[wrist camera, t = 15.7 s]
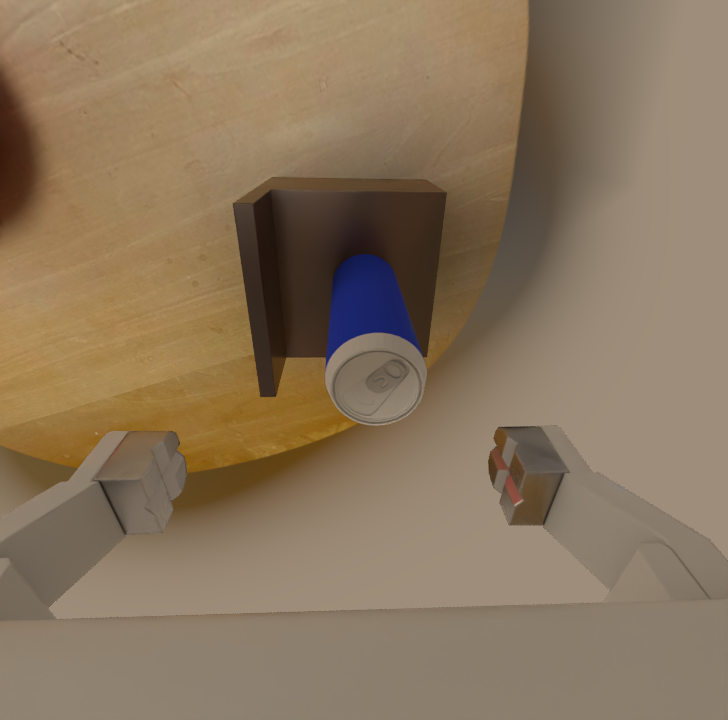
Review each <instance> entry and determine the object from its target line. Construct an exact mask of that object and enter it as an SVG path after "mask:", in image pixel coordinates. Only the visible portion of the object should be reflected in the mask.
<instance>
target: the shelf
mask: <svg viewBox="0 0 728 720" xmlns="http://www.w3.org/2000/svg"><path fill="white" fill-rule="evenodd" d="M446 194H447V193H446V192H445V191H443V190H442V189H440V188H438V187H437V186H435V185H434V184H432V183H431V182H429V181H427V180H396V179H342V178H288V177H272V178H270V179H269V180H267V181H266V182H264V183H263V184H261V185H260V186H258V187H256V188H255V189H254V190H252V191H251V192H249V193H248V194H246V195H245V196H243V197H242V198H240V199H239V200H237V201H236V202H234V203H233V208H234V215H235V222H236V229H237V236H238V243H239V250H240V257H241V264H242V271H243V278H244V285H245V292H246V299H247V306H248V313H249V320H250V327H251V334H252V341H253V348H254V355H255V362H256V369H257V376H258V383H259V390H260V396H261V397H276V395H277V391H278V387H279V383H280V379H281V375H282V371H283V368H284V364H285V360H286V357H327V344H328V332H329V320H330V308H331V296H332V284H333V278H334V275H335V272H336V271H337V269H338V267H339V266H340V265H341V264H342V263H343V262H344V261H345V260H347V259H348V258H351V257H353V256H356V255H360V254H370V255H375V256H377V257H380V258H381V259H383V260H384V261H386V262H387V263H388V264H389V265H390V266H391V268H392V269H393V271H394V273H395V276H396V279H397V282H398V285H399V288H400V291H401V294H402V296H403V299H404V302H405V305H406V308H407V311H408V314H409V317H410V320H411V323H412V326H413V329H414V332H415V334H416V337H417V340H418V343H419V346H420V349H421V352H422V355H423V357H427V352H428V344H429V335H430V327H431V319H432V310H433V302H434V294H435V286H436V277H437V269H438V261H439V252H440V244H441V236H442V228H443V219H444V211H445V203H446Z"/></svg>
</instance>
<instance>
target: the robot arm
mask: <svg viewBox="0 0 728 720" xmlns="http://www.w3.org/2000/svg"><path fill="white" fill-rule="evenodd" d="M494 441H495V443H496V445H497V446H496V447H495V448H494V449H493V450H492V451H491V452H490V456H489V461H488V462H489V463H488V464H489V474H490V479H491V482H492V485H493V487H494V488H495V489H496V490H497V491H498V492H500V493H501V494H502V495H501V499H500V505H501V507H502V510H503V512H504V515H505V517H506V519H507V522H508V524H509V525H544V526H543V527H544V528H545V529H546V530H547V531H548V532H549V533H550V534H551V535H552V536H553V537H554V538H555V539H556V540H557V541H558V542H559V543H560V544H561V545H563V547H565V548H566V549H567V550H568V551H569V552H570V553H571V554H572V555H573V556H574V557H575V558H576V559H577V560H578V561H579V562H580V563H582V565H584V566H585V567H586V568H587V569H588V570H589V571H590V572H591V573H592V574H593V575H594V576H595V577H596V578H597V579H598V580H599V581H600V582H601V583H603V584H604V585H605V586H606V587H607V588H608V589H609V590H610V592H609V594H608V595H607V597H606V598H605V600H604V602H603V603H572V604H571V603H570V604H540V605H539V604H538V605H505V606H472V607H441V608H440V607H439V608H408V609H376V610H341V611H308V612H276V613H245V614H244V613H243V614H210V615H176V616H143V617H109V618H78V619H77V618H76V619H56V617H55V616H54V615H53V614H52V612H51V611H50V610H49V607H50V606H51V605H52V604H53V603H54V602H55V601H56V600H57V599H58V598H60V597H61V596H62V595H63V594H64V593H65V592H66V591H67V590H68V589H69V588H70V587H72V586H73V585H74V584H75V583H76V582H77V581H78V580H79V579H80V578H81V577H82V576H84V575H85V574H86V573H87V572H88V571H89V570H90V569H91V568H92V567H93V566H94V565H96V564H97V563H98V562H99V561H100V560H101V559H102V558H103V557H104V556H105V555H106V554H108V553H109V552H110V551H111V550H112V549H113V548H114V547H115V546H116V545H117V544H118V543H119V542H121V541H122V540H123V539H124V538H125V535H132V534H153V533H163V531H164V529H165V527H166V524H167V522H168V520H169V518H170V516H171V514H172V512H173V506H172V503H171V501H172V500H173V499H175V498H176V497H177V496H178V495H180V494H181V492H182V489H183V487H184V485H185V480H186V474H187V467H186V461H185V458H184V456H183V455H182V454H181V453H179V452H178V451H177V448H178V446H179V444H180V442H179V439H178V436H177V434H176V433H175V432H172V431H111V432H109V433H107V434H105V435H104V437H103V438H102V439H101V440H100V442H99V443H98V444H97V445H96V447H95V448H94V449H93V450H92V452H91V453H90V454H89V455H88V457H87V458H86V459H85V460H84V462H83V463H82V464H81V465H80V467H79V468H78V469H77V470H76V472H75V473H74V474H73V475H72V477H71V478H70V479H69V481H68V482H60V483H58V484H56V485H55V486H53V487H51V488H49V489H48V490H46V491H44V492H43V493H41V494H39V495H37V496H36V497H34V498H32V499H31V500H29V501H27V502H25V503H24V504H22V505H20V506H19V507H17V508H15V509H13V510H12V511H10V512H8V513H7V514H5V515H3V516H1V517H0V720H728V560H727V559H726V558H725V557H724V555H722V553H721V552H720V551H719V550H718V549H717V547H716V546H715V545H714V544H713V543H712V542H711V540H710V539H708V538H706V537H705V536H703V535H701V534H700V533H698V532H696V531H695V530H693V529H691V528H690V527H688V526H686V525H685V524H683V523H681V522H680V521H678V520H677V519H675V518H673V517H672V516H670V515H668V514H667V513H665V512H663V511H662V510H660V509H659V508H657V507H655V506H653V505H652V504H650V503H649V502H647V501H645V500H644V499H642V498H640V497H639V496H637V495H635V494H634V493H632V492H630V491H629V490H627V489H625V488H624V487H622V486H620V485H619V484H617V483H616V482H614V481H612V480H610V479H609V478H607V477H606V476H604V475H602V474H601V473H593V472H592V470H591V469H590V468H589V466H588V465H587V463H586V462H585V461H584V459H583V458H582V457H581V455H580V454H579V453H578V451H577V449H576V448H575V447H574V445H573V444H572V443H571V441H570V440H569V438H568V437H567V435H566V434H565V433H564V431H563V430H562V429H561V428H560V427H558V426H557V425H552V426H551V425H549V426H537V427H536V426H529V427H528V426H526V427H525V426H523V427H498V428H497V430H496V432H495V435H494Z"/></svg>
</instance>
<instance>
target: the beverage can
mask: <svg viewBox="0 0 728 720" xmlns="http://www.w3.org/2000/svg"><path fill="white" fill-rule="evenodd" d="M426 377H427V369H426V364H425V361H424V358H423V355H422V352H421V349H420V346H419V343H418V340H417V337H416V334H415V332H414V329H413V326H412V323H411V320H410V317H409V314H408V311H407V308H406V305H405V302H404V299H403V296H402V294H401V291H400V288H399V285H398V282H397V279H396V276H395V273H394V271H393V269H392V268H391V266H390V265H389V264H388V263H387V262H386V261H384V260H383V259H381V258H380V257H377V256H375V255H370V254H360V255H356V256H353V257H351V258H348V259H347V260H345V261H344V262H343V263H342V264H341V265H340V266H339V267H338V269H337V271H336V272H335V275H334V278H333V284H332V296H331V308H330V320H329V332H328V344H327V357H326V369H325V383H326V388H327V390H328V392H329V395H330V397H331V399H332V400H333V403H334V404H335V406H336V407H337V409H338V410H339V411H340V412H341V413H342V414H344V415H345V416H346V417H348V418H349V419H351V420H353V421H356V422H358V423H362V424H366V425H386V424H390V423H394V422H397V421H399V420H401V419H403V418H405V417H406V416H407V415H409V414H410V413H411V412H412V411H413V410H414V409H415V408H416V407H417V406H418V404H419V403H420V400H421V399H422V396H423V393H424V387H425V383H426Z"/></svg>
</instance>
